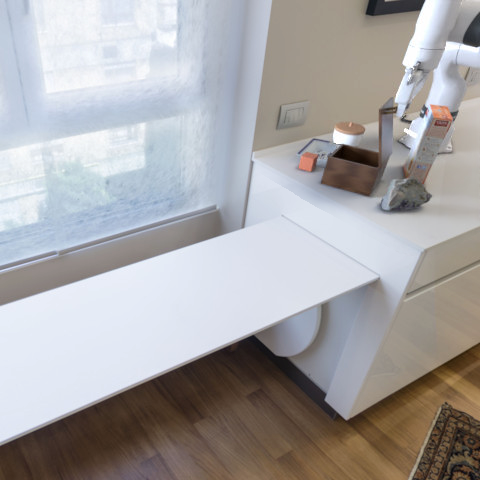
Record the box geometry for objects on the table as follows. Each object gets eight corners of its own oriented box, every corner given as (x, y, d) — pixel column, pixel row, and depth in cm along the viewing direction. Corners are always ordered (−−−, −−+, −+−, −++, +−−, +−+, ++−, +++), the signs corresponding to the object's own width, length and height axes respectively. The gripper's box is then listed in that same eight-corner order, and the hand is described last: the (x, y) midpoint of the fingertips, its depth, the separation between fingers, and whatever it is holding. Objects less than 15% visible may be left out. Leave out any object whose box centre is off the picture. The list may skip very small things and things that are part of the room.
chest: (320, 183, 144) (328, 156, 138) (334, 169, 153) (341, 143, 147) (369, 196, 138) (379, 169, 132) (380, 180, 146) (390, 154, 140)
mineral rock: (426, 206, 134) (441, 174, 127) (424, 222, 127) (439, 189, 120) (382, 196, 138) (394, 165, 131) (377, 211, 131) (390, 179, 124)
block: (303, 164, 155) (306, 151, 152) (315, 167, 153) (318, 154, 150) (298, 168, 153) (301, 155, 149) (310, 171, 151) (314, 159, 148)
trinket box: (360, 154, 162) (369, 128, 156) (330, 152, 164) (338, 126, 157) (356, 143, 170) (364, 118, 164) (328, 141, 171) (335, 116, 165)
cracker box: (424, 185, 144) (454, 119, 130) (404, 182, 146) (432, 116, 131) (421, 168, 154) (449, 105, 140) (403, 166, 155) (428, 103, 141)
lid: (378, 109, 123) (398, 106, 120) (390, 97, 132) (409, 94, 129) (378, 168, 132) (397, 166, 129) (389, 153, 140) (407, 151, 137)
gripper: (427, 68, 109) (405, 125, 119) (441, 53, 122) (420, 106, 131) (400, 64, 112) (381, 120, 121) (417, 50, 124) (398, 102, 134)
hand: (401, 113), depth 126 cm, fingers closed on lid, 5 cm apart
